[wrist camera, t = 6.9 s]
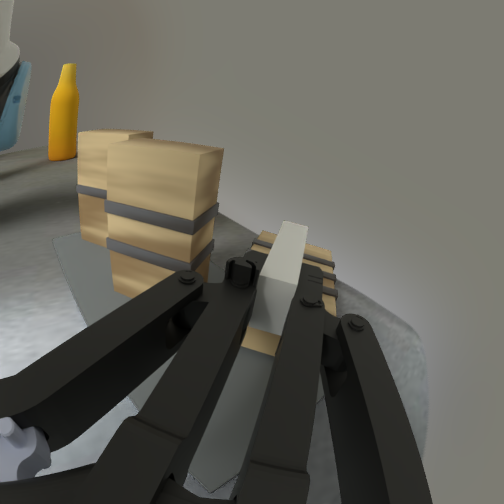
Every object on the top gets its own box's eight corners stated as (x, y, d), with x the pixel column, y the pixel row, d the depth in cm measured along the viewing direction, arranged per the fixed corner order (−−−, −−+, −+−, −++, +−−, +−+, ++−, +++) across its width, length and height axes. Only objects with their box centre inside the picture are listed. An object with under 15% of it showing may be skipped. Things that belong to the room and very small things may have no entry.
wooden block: (188, 321, 20) (201, 155, 15) (111, 291, 21) (105, 143, 16) (209, 291, 24) (226, 148, 18) (138, 267, 25) (141, 137, 20)
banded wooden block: (127, 256, 26) (129, 134, 21) (80, 239, 27) (76, 132, 22) (149, 239, 30) (155, 131, 25) (103, 225, 31) (103, 128, 26)
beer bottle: (80, 157, 67) (89, 62, 54) (53, 162, 60) (61, 62, 47) (70, 154, 71) (77, 66, 58) (45, 159, 64) (51, 67, 50)
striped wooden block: (339, 321, 16) (332, 250, 27) (223, 286, 17) (261, 228, 28) (315, 369, 18) (319, 287, 28) (213, 338, 18) (252, 266, 29)
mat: (52, 242, 26) (52, 238, 26) (151, 219, 36) (151, 216, 36) (210, 493, 10) (210, 492, 9) (352, 363, 19) (354, 360, 19)
